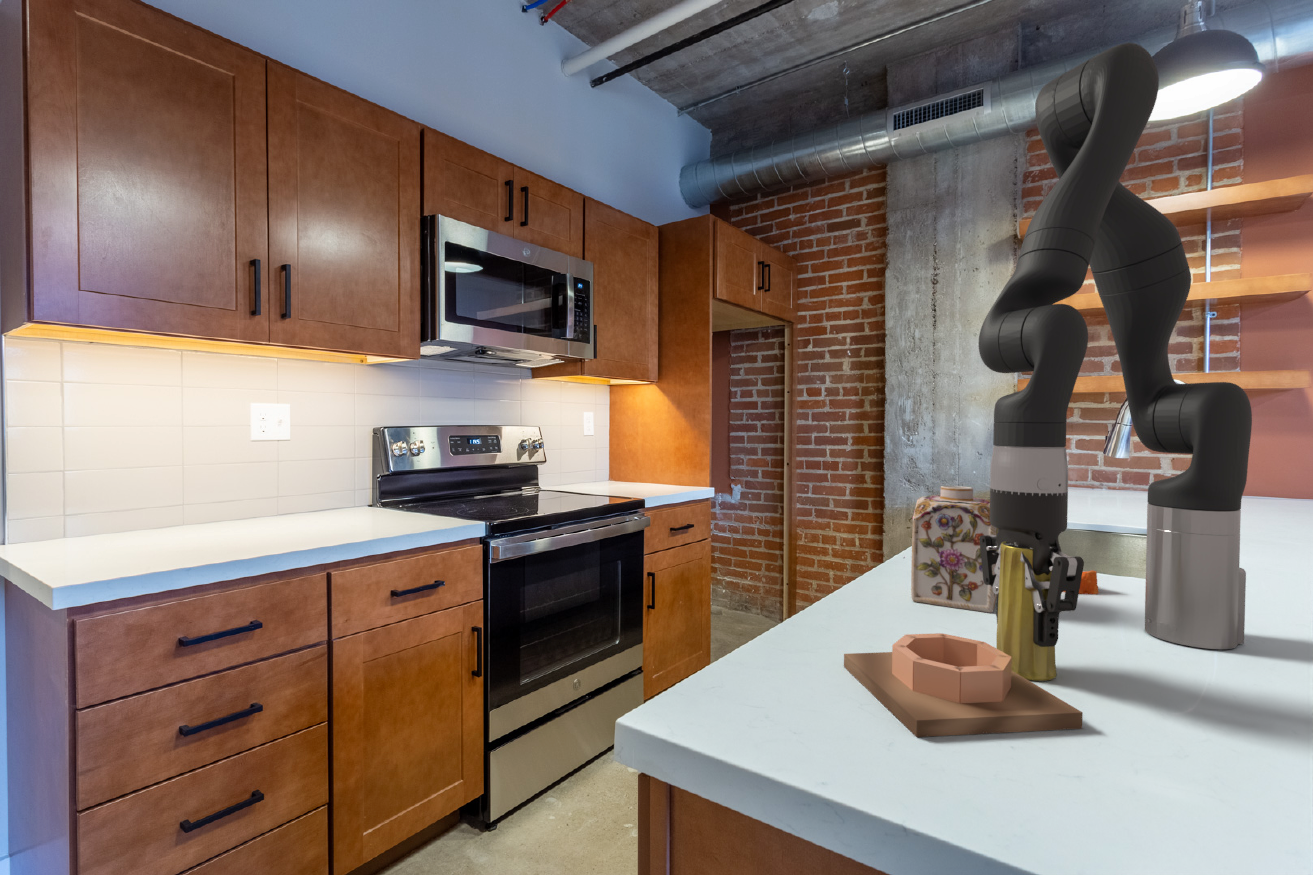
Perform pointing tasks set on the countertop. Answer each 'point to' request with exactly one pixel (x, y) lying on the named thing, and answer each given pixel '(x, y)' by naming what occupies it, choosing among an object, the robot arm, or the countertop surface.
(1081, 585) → the rock
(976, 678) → the holder ring
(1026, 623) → the vase
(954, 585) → the decorative jar
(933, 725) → the board
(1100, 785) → the countertop surface
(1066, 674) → the countertop surface
